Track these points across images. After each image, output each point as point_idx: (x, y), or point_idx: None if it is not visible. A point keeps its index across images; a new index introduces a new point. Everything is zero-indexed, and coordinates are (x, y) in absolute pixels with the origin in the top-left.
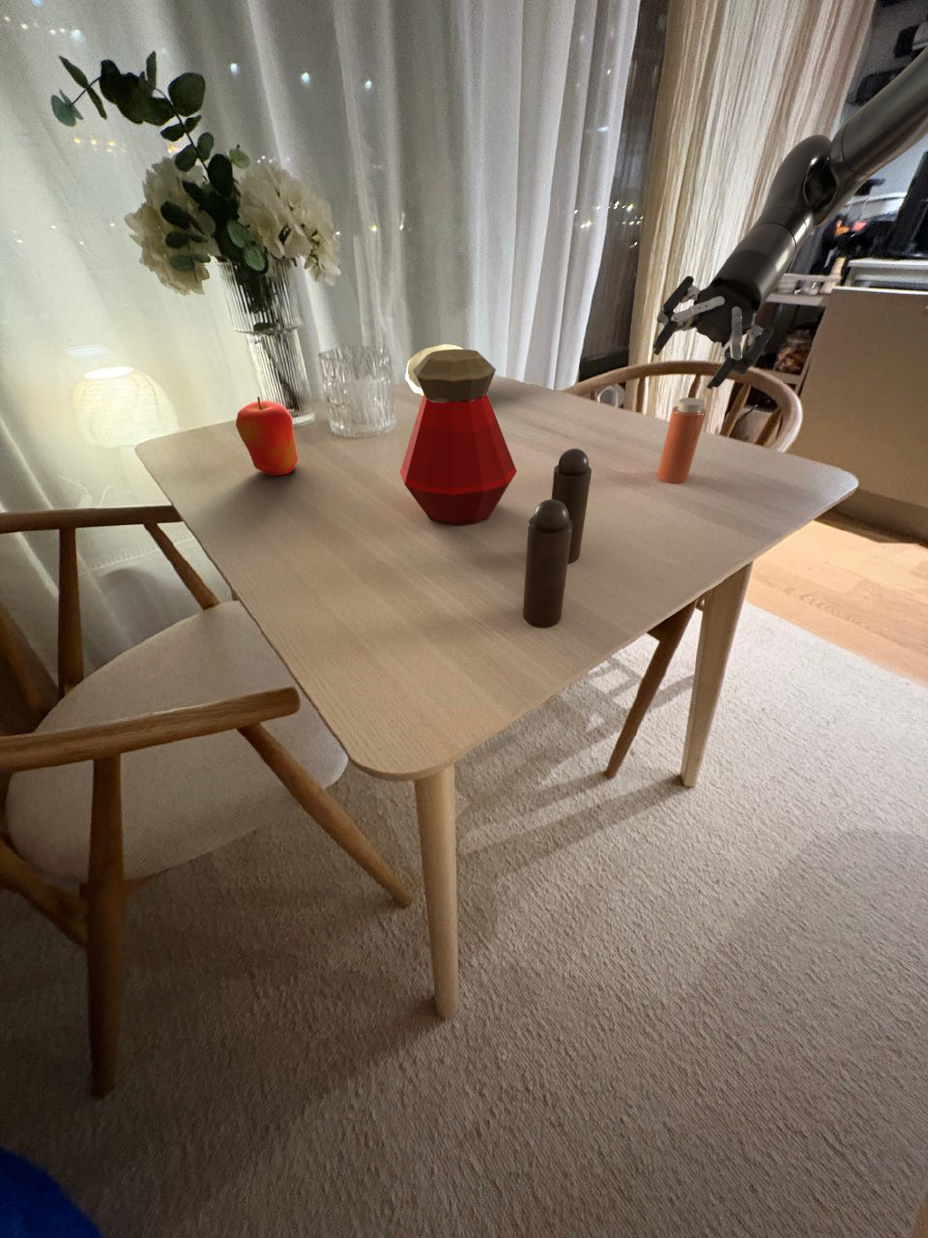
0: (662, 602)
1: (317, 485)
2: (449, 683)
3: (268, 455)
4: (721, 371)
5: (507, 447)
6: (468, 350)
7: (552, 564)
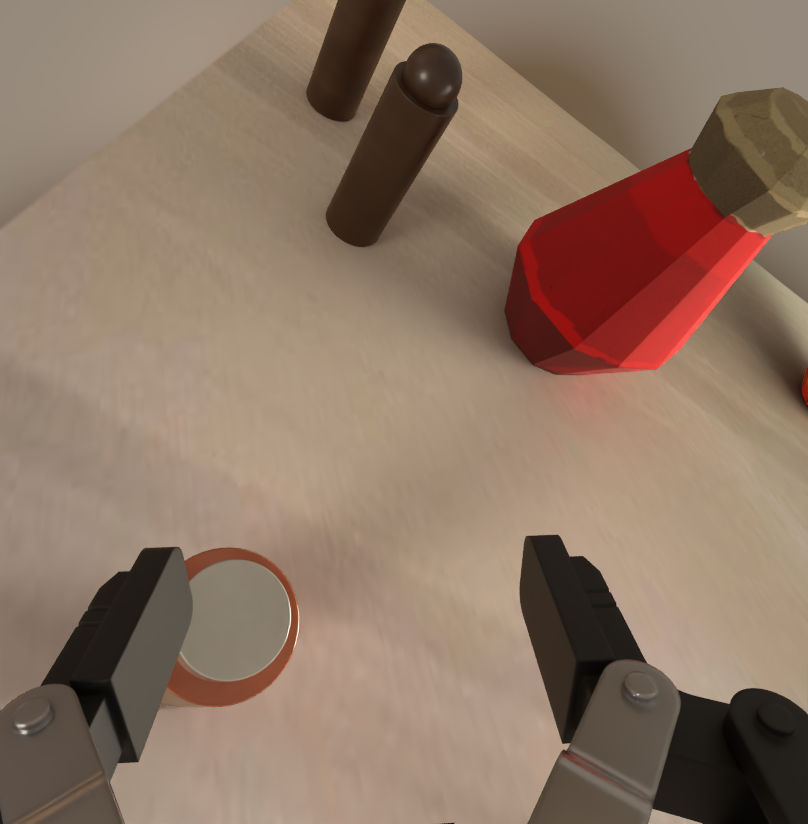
0: (168, 116)
1: (749, 369)
2: None
3: None
4: (138, 582)
5: (580, 266)
6: None
7: None
